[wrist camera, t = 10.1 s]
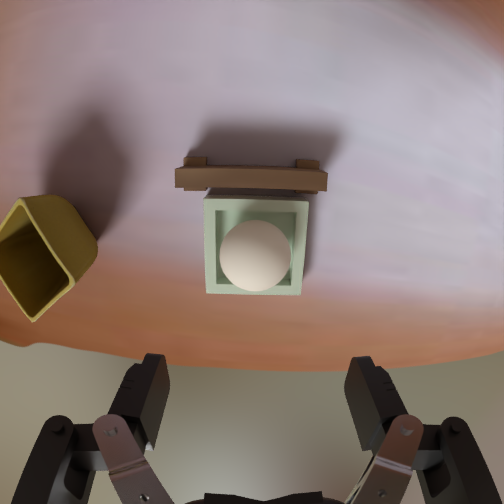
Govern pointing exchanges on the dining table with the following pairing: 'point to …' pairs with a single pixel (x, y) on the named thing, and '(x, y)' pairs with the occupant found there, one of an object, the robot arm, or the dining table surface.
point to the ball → (255, 255)
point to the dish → (254, 208)
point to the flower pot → (43, 251)
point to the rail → (250, 176)
